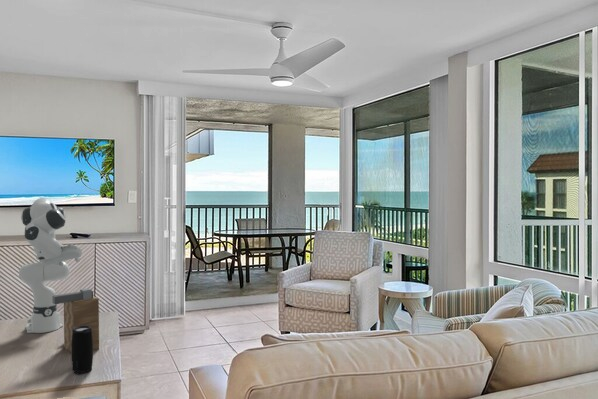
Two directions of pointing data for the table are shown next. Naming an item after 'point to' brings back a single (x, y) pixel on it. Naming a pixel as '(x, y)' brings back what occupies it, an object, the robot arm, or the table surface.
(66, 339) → the panel block
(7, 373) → the table surface
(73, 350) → the portable speaker
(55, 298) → the dark grey square bar
